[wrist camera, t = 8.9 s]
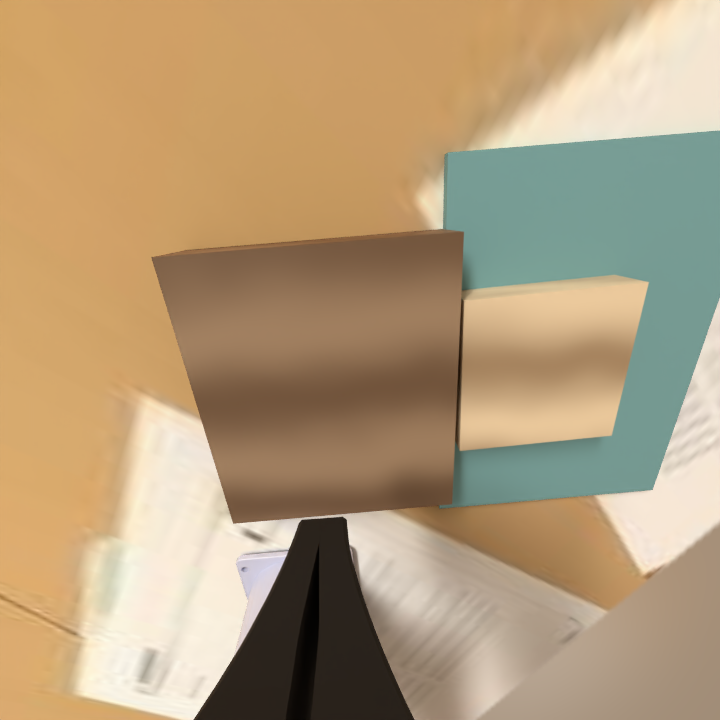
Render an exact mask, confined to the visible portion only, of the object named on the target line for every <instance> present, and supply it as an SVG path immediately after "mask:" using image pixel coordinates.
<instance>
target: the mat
mask: <svg viewBox="0 0 720 720" xmlns="http://www.w3.org/2000/svg"><path fill="white" fill-rule="evenodd" d="M443 229H446V230H454V231H463V232H464V244H463V267H462V290H470V289H480V288H490V287H500V286H510V285H519V284H529V283H539V282H549V281H559V280H569V279H578V278H588V277H598V276H608V275H618V276H623V277H627V278H632V279H637V280H641V281H646V282H649V284H648V288H647V292H646V296H645V301H644V305H643V309H642V313H641V317H640V321H639V325H638V329H637V333H636V338H635V342H634V346H633V350H632V354H631V358H630V362H629V366H628V370H627V375H626V379H625V383H624V387H623V391H622V395H621V399H620V403H619V407H618V412H617V416H616V420H615V424H614V428H613V432H612V436H603V437H593V438H583V439H573V440H563V441H553V442H543V443H534V444H524V445H514V446H504V447H494V448H484V449H474V450H465V451H460V450H459V448H458V446H457V444H456V442H455V451H454V474H453V497H452V504H450V505H439V509H441V508H452V507H463V506H475V505H486V504H497V503H509V502H520V501H532V500H543V499H554V498H566V497H577V496H588V495H600V494H611V493H623V492H634V491H645V490H653V487H654V484H655V481H656V478H657V475H658V473H659V470H660V467H661V464H662V461H663V458H664V455H665V452H666V450H667V447H668V444H669V441H670V438H671V435H672V432H673V430H674V427H675V424H676V421H677V418H678V415H679V412H680V409H681V407H682V404H683V401H684V398H685V395H686V392H687V389H688V387H689V384H690V381H691V378H692V375H693V372H694V369H695V366H696V364H697V361H698V358H699V355H700V352H701V349H702V346H703V344H704V341H705V338H706V335H707V332H708V329H709V326H710V323H711V321H712V318H713V315H714V312H715V309H716V306H717V303H718V301H719V298H720V131H709V132H697V133H685V134H672V135H660V136H648V137H635V138H623V139H611V140H598V141H586V142H573V143H561V144H549V145H536V146H524V147H512V148H499V149H487V150H474V151H462V152H450V153H447V154H445V166H444V215H443Z"/></svg>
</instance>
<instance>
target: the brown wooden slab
mask: <svg viewBox="0 0 720 720" xmlns="http://www.w3.org/2000/svg"><path fill="white" fill-rule="evenodd" d="M463 244H464V232H463V231H454V230H446V229H439V230H426V231H414V232H402V233H390V234H378V235H366V236H354V237H341V238H329V239H317V240H305V241H293V242H281V243H269V244H256V245H244V246H232V247H220V248H208V249H196V250H185V251H180V252H175V253H171V254H166V255H161V256H156V257H151V258H152V261H153V264H154V267H155V271H156V274H157V277H158V280H159V284H160V287H161V290H162V293H163V297H164V300H165V303H166V306H167V310H168V313H169V316H170V319H171V323H172V326H173V329H174V332H175V336H176V339H177V342H178V345H179V349H180V352H181V355H182V358H183V362H184V365H185V368H186V371H187V375H188V378H189V381H190V384H191V388H192V391H193V394H194V397H195V401H196V404H197V407H198V410H199V414H200V417H201V420H202V423H203V427H204V430H205V433H206V436H207V440H208V443H209V446H210V449H211V453H212V456H213V459H214V462H215V466H216V469H217V472H218V475H219V479H220V482H221V485H222V488H223V492H224V495H225V498H226V501H227V505H228V508H229V511H230V514H231V518H232V521H233V524H234V523H245V522H256V521H268V520H279V519H291V518H302V517H313V516H325V515H336V514H347V513H359V512H370V511H382V510H393V509H404V508H416V507H427V506H439V505H450V504H452V497H453V474H454V451H455V428H456V405H457V382H458V359H459V336H460V313H461V290H462V267H463Z"/></svg>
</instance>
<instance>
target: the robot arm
mask: <svg viewBox="0 0 720 720" xmlns="http://www.w3.org/2000/svg"><path fill="white" fill-rule="evenodd" d="M236 565H237V568H238V572H239V575H240V578H241V581H242V584H243V587H244V590H245V593H246V596H247V599H248V603H247V607H246V611H245V615H244V619H243V623H242V627H241V631H240V635H239V638H238V642H237V646H236V650H235V654H234V657H233V659H232V661H231V662H230V664H229V666H228V667H227V669H226V671H225V672H224V674H223V675H222V677H221V679H220V680H219V682H218V683H217V685H216V686H215V688H214V690H213V691H212V693H211V694H210V696H209V697H208V699H207V700H206V702H205V703H204V705H203V706H202V708H201V709H200V711H199V712H198V714H197V715H196V717H195V718H194V720H414V718H413V716H412V714H411V712H410V710H409V708H408V706H407V704H406V702H405V699H404V697H403V695H402V693H401V691H400V688H399V686H398V684H397V682H396V679H395V677H394V675H393V673H392V670H391V668H390V666H389V663H388V661H387V658H386V656H385V654H384V651H383V649H382V646H381V644H380V641H379V639H378V636H377V634H376V631H375V629H374V626H373V623H372V620H371V618H370V615H369V612H368V609H367V607H366V604H365V601H364V598H363V595H362V591H361V588H360V585H359V582H358V578H357V575H356V572H355V568H354V562H353V554H352V549H351V548H350V547H349V540H348V529H347V520H346V519H345V518H343V517H336V518H323V519H308V520H302V521H301V522H300V523H299V525H298V528H297V531H296V533H295V536H294V539H293V541H292V544H291V546H290V549H289V551H282V552H271V553H260V554H248V555H241V556H239V557H238V559H237V562H236Z"/></svg>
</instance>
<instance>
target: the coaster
mask: <svg viewBox="0 0 720 720" xmlns="http://www.w3.org/2000/svg"><path fill="white" fill-rule="evenodd" d="M648 284H649V282H646V281H641V280H637V279H632V278H627V277H623V276H618V275H608V276H598V277H588V278H578V279H569V280H559V281H549V282H539V283H529V284H519V285H510V286H500V287H490V288H480V289H470V290H461V313H460V336H459V359H458V382H457V405H456V428H455V442H456V444H457V446H458V448H459V450H460V451H465V450H474V449H484V448H494V447H504V446H514V445H524V444H534V443H543V442H553V441H563V440H573V439H583V438H593V437H603V436H612V432H613V428H614V424H615V420H616V416H617V412H618V407H619V403H620V399H621V395H622V391H623V387H624V383H625V379H626V375H627V370H628V366H629V362H630V358H631V354H632V350H633V346H634V342H635V338H636V333H637V329H638V325H639V321H640V317H641V313H642V309H643V305H644V301H645V296H646V292H647V288H648Z"/></svg>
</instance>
